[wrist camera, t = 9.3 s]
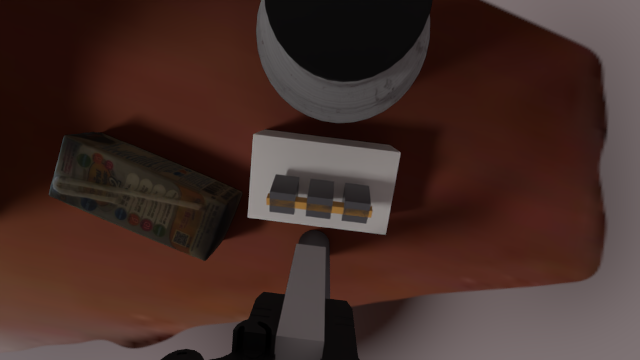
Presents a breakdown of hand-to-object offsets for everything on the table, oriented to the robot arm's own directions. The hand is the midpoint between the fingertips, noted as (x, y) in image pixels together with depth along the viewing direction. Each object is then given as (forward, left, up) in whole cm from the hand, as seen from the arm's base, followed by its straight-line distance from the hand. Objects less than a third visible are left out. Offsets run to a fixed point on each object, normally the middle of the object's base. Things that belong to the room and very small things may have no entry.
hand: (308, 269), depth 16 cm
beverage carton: (-19, -4, -24) cm, 31 cm away
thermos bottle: (0, +11, -23) cm, 26 cm away
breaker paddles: (0, 0, -17) cm, 17 cm away
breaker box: (0, 0, -23) cm, 23 cm away
